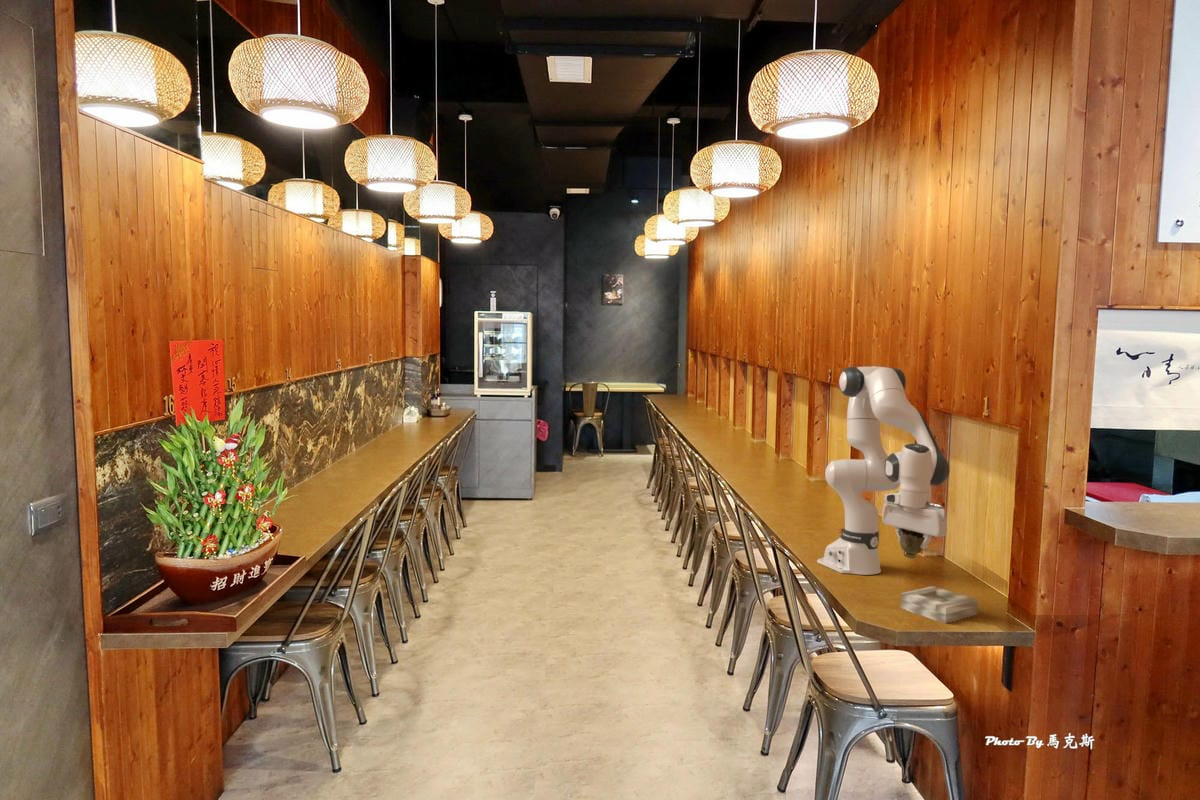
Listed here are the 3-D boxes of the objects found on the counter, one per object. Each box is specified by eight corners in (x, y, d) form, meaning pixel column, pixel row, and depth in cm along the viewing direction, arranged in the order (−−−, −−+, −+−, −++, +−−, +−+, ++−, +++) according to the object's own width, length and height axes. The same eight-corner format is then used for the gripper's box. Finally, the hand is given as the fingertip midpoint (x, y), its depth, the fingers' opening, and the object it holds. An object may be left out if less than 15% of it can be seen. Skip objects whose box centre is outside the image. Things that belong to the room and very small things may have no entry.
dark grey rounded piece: (916, 553, 238) (921, 528, 236) (927, 562, 230) (931, 537, 229) (892, 551, 237) (897, 526, 236) (902, 560, 230) (906, 534, 229)
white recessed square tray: (900, 609, 235) (901, 593, 235) (931, 601, 243) (932, 586, 242) (945, 624, 222) (946, 607, 222) (977, 616, 230) (977, 599, 230)
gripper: (952, 504, 225) (950, 552, 226) (893, 493, 242) (891, 537, 243) (938, 506, 222) (936, 554, 222) (879, 494, 239) (878, 539, 240)
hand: (912, 545), depth 233 cm, fingers closed on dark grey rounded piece, 6 cm apart
